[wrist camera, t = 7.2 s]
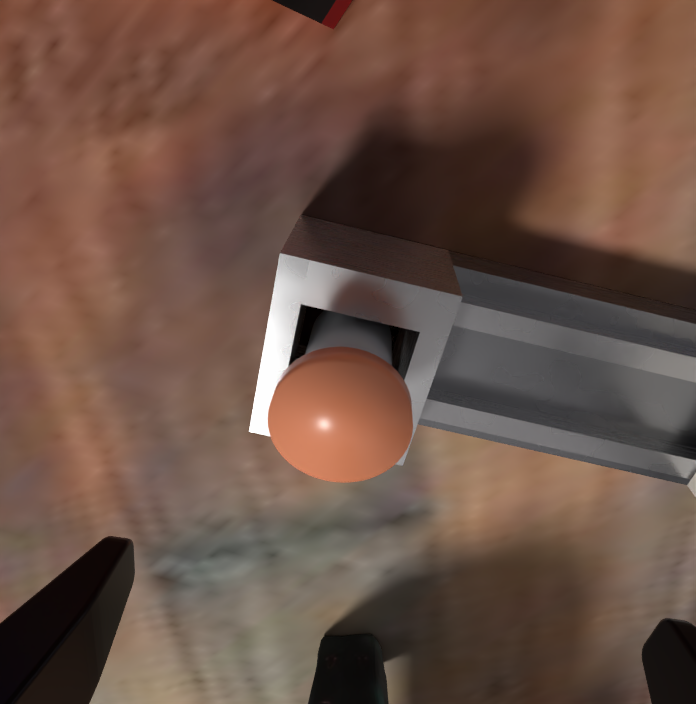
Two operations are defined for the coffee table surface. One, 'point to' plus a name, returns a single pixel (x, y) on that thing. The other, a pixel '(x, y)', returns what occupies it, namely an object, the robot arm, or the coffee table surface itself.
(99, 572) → the robot arm
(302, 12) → the puzzle toy
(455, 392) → the rail
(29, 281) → the coffee table surface
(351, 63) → the coffee table surface
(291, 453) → the button
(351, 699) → the ceramic cat
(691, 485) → the carriage
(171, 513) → the coffee table surface
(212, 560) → the coffee table surface
